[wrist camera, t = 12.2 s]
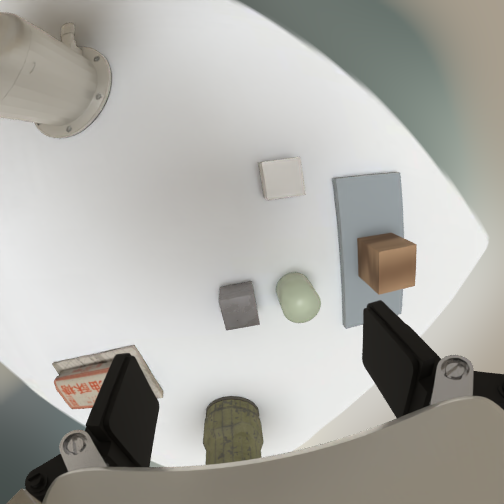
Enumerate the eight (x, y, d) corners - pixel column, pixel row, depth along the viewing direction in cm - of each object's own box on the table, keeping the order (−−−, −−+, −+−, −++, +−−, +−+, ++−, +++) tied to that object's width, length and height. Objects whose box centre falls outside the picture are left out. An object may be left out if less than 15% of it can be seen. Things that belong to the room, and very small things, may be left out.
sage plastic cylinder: (274, 275, 36) (280, 292, 32) (308, 269, 36) (319, 284, 32) (278, 306, 38) (284, 326, 33) (311, 300, 38) (321, 318, 33)
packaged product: (75, 419, 37) (42, 376, 34) (84, 402, 42) (54, 360, 39) (160, 412, 37) (126, 361, 34) (165, 391, 41) (135, 342, 38)
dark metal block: (220, 286, 36) (218, 300, 33) (251, 280, 36) (253, 294, 33) (226, 314, 38) (226, 330, 34) (257, 308, 38) (259, 324, 34)
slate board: (332, 178, 33) (335, 179, 32) (395, 172, 34) (400, 172, 32) (342, 324, 39) (345, 328, 38) (397, 310, 39) (401, 313, 38)
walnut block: (357, 238, 34) (378, 251, 29) (391, 232, 35) (416, 244, 29) (358, 275, 36) (378, 294, 30) (391, 268, 36) (414, 285, 30)
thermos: (194, 425, 43) (182, 611, 10) (221, 383, 41) (224, 616, 7) (240, 438, 45) (254, 613, 11) (273, 399, 42) (312, 608, 9)
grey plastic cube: (258, 162, 33) (261, 162, 29) (292, 157, 33) (300, 156, 29) (263, 196, 34) (267, 200, 30) (297, 191, 34) (305, 194, 30)
